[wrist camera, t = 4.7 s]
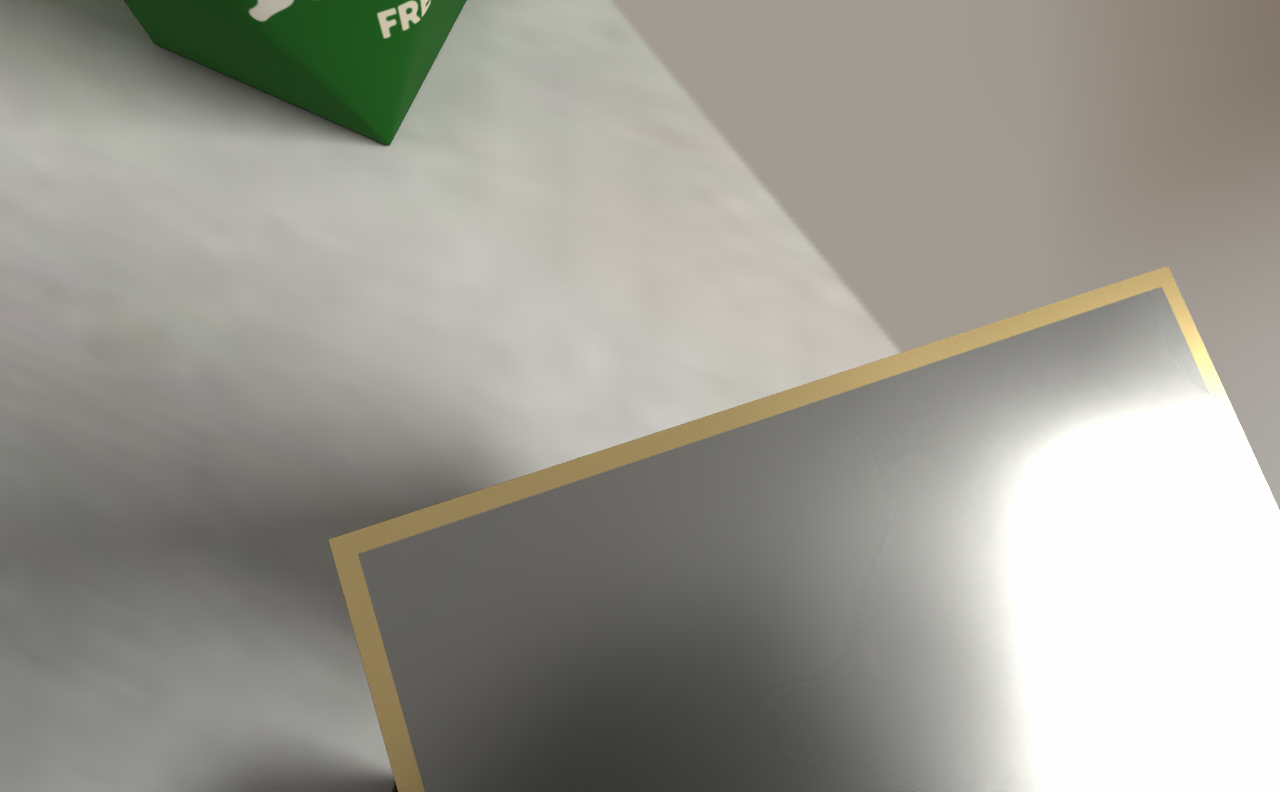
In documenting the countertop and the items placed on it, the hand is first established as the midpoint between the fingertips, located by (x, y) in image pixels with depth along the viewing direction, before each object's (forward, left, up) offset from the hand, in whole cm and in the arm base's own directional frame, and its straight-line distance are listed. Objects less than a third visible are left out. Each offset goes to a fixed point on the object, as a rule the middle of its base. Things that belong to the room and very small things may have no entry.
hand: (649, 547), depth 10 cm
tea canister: (-1, +1, -7) cm, 7 cm away
